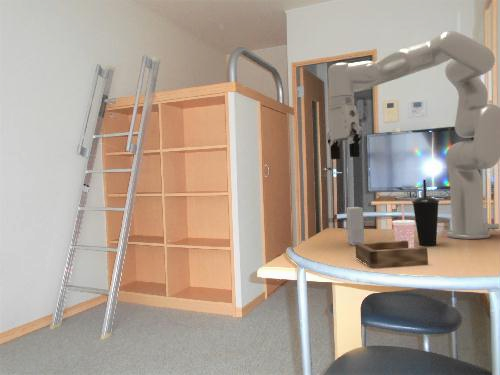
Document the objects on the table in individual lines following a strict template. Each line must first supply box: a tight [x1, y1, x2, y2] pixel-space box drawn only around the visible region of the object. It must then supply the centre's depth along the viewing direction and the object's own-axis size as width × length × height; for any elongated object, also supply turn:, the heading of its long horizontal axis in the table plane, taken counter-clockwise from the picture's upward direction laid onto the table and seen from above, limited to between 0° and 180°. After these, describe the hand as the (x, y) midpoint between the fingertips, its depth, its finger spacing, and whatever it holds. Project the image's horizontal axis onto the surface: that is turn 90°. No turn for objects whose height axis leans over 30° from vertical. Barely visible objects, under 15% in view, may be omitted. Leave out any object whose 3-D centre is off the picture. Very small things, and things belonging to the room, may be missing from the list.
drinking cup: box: [411, 179, 440, 247], centre depth 120 cm, size 8×8×20 cm
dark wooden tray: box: [354, 240, 429, 269], centre depth 102 cm, size 14×12×4 cm
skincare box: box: [345, 206, 366, 246], centre depth 129 cm, size 6×4×12 cm
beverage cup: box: [391, 202, 416, 248], centre depth 111 cm, size 6×6×14 cm
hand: (344, 158), depth 124 cm, fingers open, 9 cm apart
